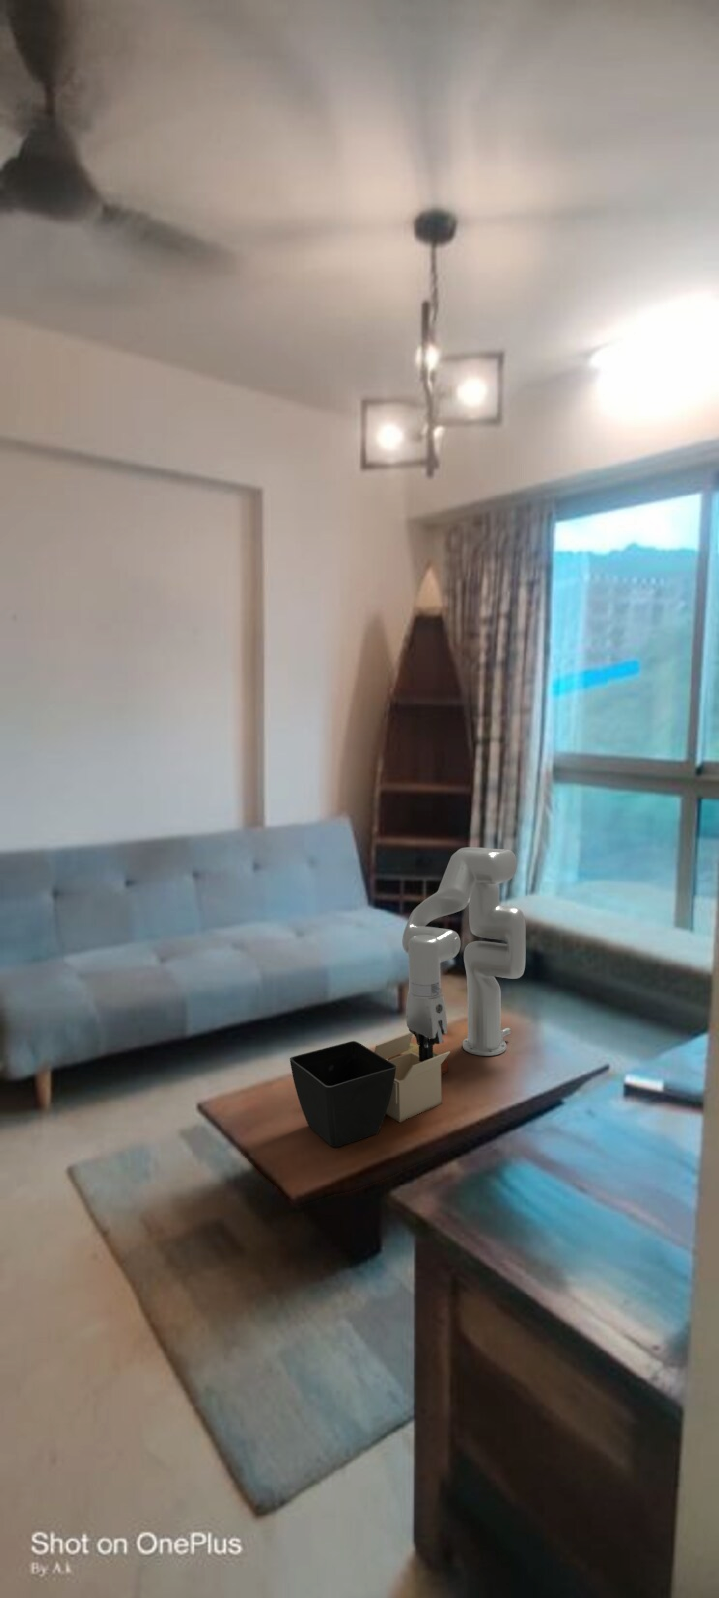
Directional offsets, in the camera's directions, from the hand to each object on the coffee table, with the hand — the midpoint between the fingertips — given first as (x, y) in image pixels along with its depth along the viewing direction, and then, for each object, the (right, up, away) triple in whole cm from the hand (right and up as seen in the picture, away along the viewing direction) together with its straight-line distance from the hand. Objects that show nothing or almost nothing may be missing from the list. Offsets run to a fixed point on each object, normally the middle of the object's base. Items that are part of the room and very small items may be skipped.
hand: (426, 1060), depth 191 cm
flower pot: (-20, -15, -4) cm, 25 cm away
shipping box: (-4, -13, +7) cm, 16 cm away
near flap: (0, -1, 0) cm, 1 cm away
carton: (0, -12, +29) cm, 31 cm away
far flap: (-8, 0, +10) cm, 12 cm away
